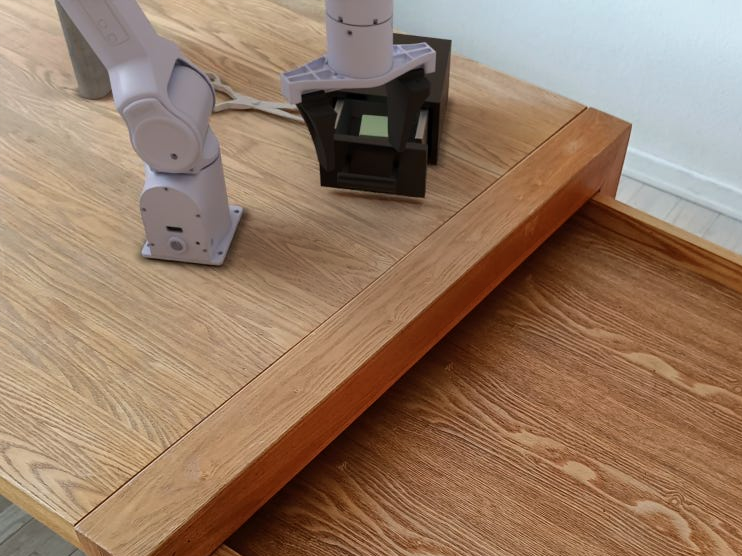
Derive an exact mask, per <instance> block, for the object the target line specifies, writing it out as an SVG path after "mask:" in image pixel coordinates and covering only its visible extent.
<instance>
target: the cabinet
mask: <svg viewBox="0 0 742 556" xmlns="http://www.w3.org/2000/svg"><path fill="white" fill-rule="evenodd" d="M424 42H425V43H427V44H428V45H429V46H430V47H431V48H432V49H433V50H434V51H435V52H436V62H435V72H433V73H428V74H425V73H424V76H425V77H426V78H427V79H428V80H429V81H430V82H431V92H430V95H429V96H428V98H427V99H426V100H425V102H424V103H423V105H422V106H421V107H422V108H430V109H432V116H431V131H430V136H429V142H428V155H427V165H432V166H437V165H438V161H439V154H440V150H441V145H442V137H443V132H444V126H445V120H446V114H447V109H448V102H449V92H450V91H449V90H450V74H451V60H452V59H451V58H452V46H453V45H452V43H453V40H452V39H448V38H439V37H432V36H424V35H415V34H406V33H398V32H393V45H406V44H418V43H424ZM325 94H326V98H328V99H329V105H330V106H331V107H332V108H333V109H335V106H336V103H337V100H338V98H346V99H354V100H363V101H371V102H380V103H387V94H386V87H385V84H383V85H380V86H377V87H371V88H347V89H340V90H335V91H331V92H327V93H325Z"/></svg>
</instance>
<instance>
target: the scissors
mask: <svg viewBox="0 0 742 556" xmlns="http://www.w3.org/2000/svg"><path fill="white" fill-rule="evenodd" d="M202 71H203V72H204V73H205V74H206V75H207V76H208V77H209V79H210V80H211V79H212V80H213V81H211V82H212V84H213V86H214V89H215V90H217V91H219V92H224V93H225V94H227V95H228V96H229V97H230V98H232V99H231V100H227V101H222V102H218V103H217V102H216V104H215V108H214V110H213V112H217V113H218V112H220V111H223V110H226V109H233V110H234V109H235V110H247V109H253V110H259V111H262V112H265V113H269V114H273V115H276V116H279V117H283V118H287V119H291V120H295V121H299V122H303V123H305V121H304V119H303V117H302V116H298V115H295V114H292V113H289V112H287V111H284V110H282V109H298V108H297V107H296V105H295V104H293V105H291V104H290V103H289V102H277V101H268V100H267V101H266V100H258V99H256V98H254V97H251V96H248V95H246V94H245V95H244V94H242V93H239V92H236V91H234V90H233V89H232V87H231V86H230V85H227V84H226V85H225V84H222V82H221V78H220V76H218V74H217V73H215V72H212V71H209V70H208V71H207V70H202Z"/></svg>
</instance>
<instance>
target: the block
mask: <svg viewBox="0 0 742 556" xmlns="http://www.w3.org/2000/svg"><path fill="white" fill-rule="evenodd" d="M359 137H367V138H375V139H384V140H388V117H384V116H372V115H362V121H361V127H360V133H359Z"/></svg>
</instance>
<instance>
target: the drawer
mask: <svg viewBox="0 0 742 556" xmlns="http://www.w3.org/2000/svg"><path fill="white" fill-rule="evenodd" d="M334 110H335V111H336V112H337V113H338V115H337V119H336V123H335V130H334V155H335V166H334V170H332V171H326V170H325V168H324V167H323V166H322V165H321V164H320V163H319V162H318V168H319V183H320V187H322V188H330V189H331V188H332V189H341V190H347V191H349V190H350V191H355V192H356V191H357V192H365V193H375V194H381V195H392V196H401V197H408V198H419V199H425V198H426V194H427V193H426V192H427V175H428V174H427V173H428V164H427V155H428V142H429V136H430V131H431V116H432V109H430V108H422V107H421V108H420V110H419V112H418V113H417V116H416V118H415V120H414V122H413V125H412V128H411V130H410V134H409V137H408V140H407V143H406V147H405V150H404V151H403V152H398V151H397V150H396V149H395V148H394V147H393V146H392V145H391V144H390V143H389V140H384V139H375V138H367V137H359V133H360V127H361V121H362V115H372V116H384V117H388V104H387V103H380V102H371V101H363V100H354V99H346V98H338V100H337V103H336V106H335V109H334Z"/></svg>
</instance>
